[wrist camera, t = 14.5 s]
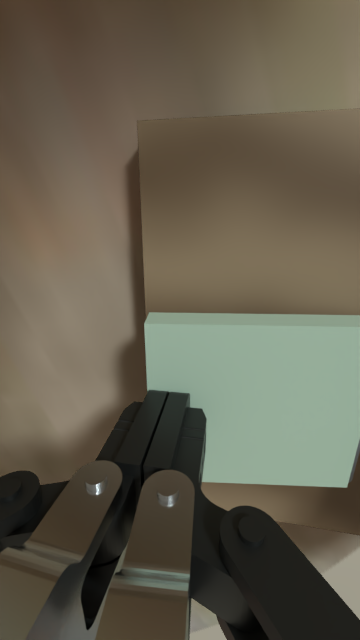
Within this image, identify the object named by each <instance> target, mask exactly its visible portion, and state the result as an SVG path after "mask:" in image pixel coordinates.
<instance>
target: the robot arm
mask: <svg viewBox="0 0 360 640" xmlns="http://www.w3.org/2000/svg"><path fill="white" fill-rule="evenodd" d="M206 423H207V418H206V416H205V414H204V412H203V409H201V408H191V407H190V393H180V392H170V393H169V391H159V390H149V391H148V393H147V395H146V397H145V399H144V401H143V403H142V402H133V403H132V404H131V405H129V406H128V407H127V408H126V409H124V411H123V413H122V414H121V416H120V418H119V421H118V422H117V423H116V425H115V427H114V430H112V432H111V434H110V436H109V438H108V439H107V441H106V443H105V445H104V446H103V448H102V450H101V452H100V454H99V455H98V457H97V459H96V461H94V462H91V463H89V464H86V465H85V466H83V467H82V468H80V469H79V470H78V471H77V472H76V473H75V474H74V475H73V477H72V478H71V480H69V481H65V482H59V483H53V484H46V485H40V483H39V479H38V477H37V476H36V475H35V474H34V473H32V472H30V471H16V472H12V473H9V474H7V475H4V476H2V477H0V640H189V638H190V619H191V599H192V598H193V599H194V600H195V601H197V602H198V603H200V604H201V605H203V606H204V607H206V608H207V609H209V610H210V611H212V612H213V613H215V614H216V616H217V619H218V622H219V624H220V627H221V629H222V631H223V633H224V635H225V637H226V639H227V640H360V620H359V619H358V617H357V616H356V615H355V614H354V613H353V612H352V610H351V609H350V608H349V607H348V606H347V605H346V604H345V602H344V601H343V600H342V599H341V598H340V596H339V595H338V594H337V593H336V592H335V591H334V589H333V588H332V587H331V586H330V585H329V584H328V582H327V581H326V580H325V579H324V578H323V577H322V575H321V574H320V573H319V572H318V571H317V570H316V568H315V567H314V566H313V565H312V564H311V563H310V561H309V560H308V559H307V558H306V557H305V556H304V554H303V553H302V552H301V551H300V550H299V549H298V547H297V546H296V545H295V544H294V543H293V542H292V540H291V539H290V538H289V537H288V536H287V535H286V533H285V532H284V531H283V530H282V529H281V528H280V526H279V525H278V524H277V523H276V522H275V521H274V519H273V518H272V517H271V516H270V515H268V514H267V513H266V512H264V511H262V510H261V509H258V508H256V507H252V506H246V505H245V506H237V507H235V508H232V509H231V510H229V511H227V510H225V509H223V508H221V507H219V506H217V505H215V504H214V503H212V502H211V501H210V500H209V499H208V498H207V497H206V496H205V495H204V494H203V492H202V490H201V485H202V477H203V469H204V460H205V452H206Z"/></svg>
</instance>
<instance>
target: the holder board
mask: <svg viewBox="0 0 360 640" xmlns="http://www.w3.org/2000/svg"><path fill="white" fill-rule="evenodd" d="M137 129H138V151H139V174H140V197H141V220H142V242H143V265H144V288H145V311H146V319H147V316H148V314H149V312H159V313H232V314H305V315H360V108H357V109H339V110H321V111H303V112H285V113H267V114H249V115H231V116H213V117H195V118H177V119H159V120H141V121H137ZM201 490H202V492H203V494H204V495H205V496H206V497H207V498H208V499H209V500H210V501H211V502H212V503H214V504H215V505H217V506H219V507H221V508H223V509H225V510H227V511H229V510H231V509H232V508H235V507H237V506H245V505H246V506H252V507H256V508H258V509H261V510H262V511H264V512H266V513H267V514H268V515H270V516H271V517H272V518H273V519H274V521H278V522H284V523H290V524H296V525H302V526H308V527H314V528H320V529H326V530H332V531H338V532H344V533H350V534H356V535H360V452H359V456H358V460H357V463H356V467H355V471H354V475H353V479H352V481H351V482H350V483H348V486H347V488H343V487H318V486H293V485H267V484H242V483H216V482H202V485H201Z"/></svg>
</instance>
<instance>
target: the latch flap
mask: <svg viewBox="0 0 360 640" xmlns="http://www.w3.org/2000/svg"><path fill="white" fill-rule="evenodd" d="M144 331H145V352H146V374H147V393H148V391H149V390H159V391H169V393H170V392H180V393H190V407H191V408H201V409H203V412H204V414H205V416H206V418H207V423H206V452H205V460H204V469H203V477H202V482H216V483H242V484H267V485H293V486H318V487H343V488H347V486H348V483H350V482H351V481H352V479H353V475H354V471H355V467H356V463H357V460H358V456H359V452H360V315H305V314H232V313H159V312H149V314H148V316H147V319H146V321H145V323H144Z"/></svg>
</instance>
